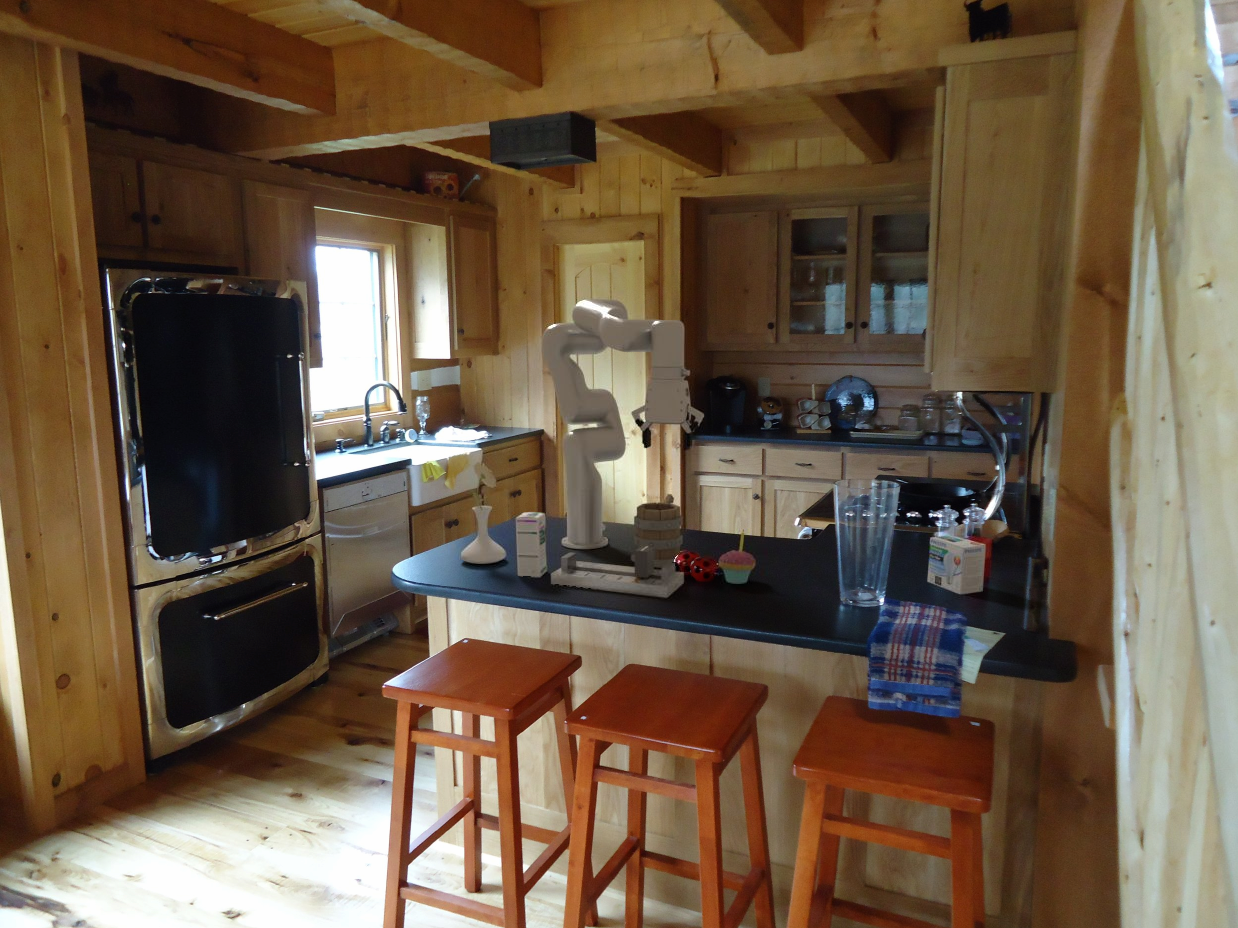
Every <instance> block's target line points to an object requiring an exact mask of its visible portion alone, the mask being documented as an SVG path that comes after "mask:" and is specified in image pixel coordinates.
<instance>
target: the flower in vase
mask: <svg viewBox="0 0 1238 928" xmlns="http://www.w3.org/2000/svg"><path fill="white" fill-rule="evenodd" d="M472 466H473V470H474V474H476V476H477V478H478V479H479V482H478V484H477V487H476V492H475V491H473V493H472V497H473V498H475V499H476V500H477V501H478V504H479V505H478V506H473V507H472V508H471V509H472V511H473V512H474V514H475V516H476V519H477V520H476V521H477V529H478V532H477V536H476V538H475V539H474V540H473V541H472V542H470V543H469V544H468V545H467V546H466V547H465V548H464V549H463V550H462V551H461V554H460V558H461V560H462V561H465V562H467V563H470V564H476V565H477V564H478V565H480V564H481V565H483V564H485V565H486V564H487V565H488V564H492V563H493V564H494V563H498V562H500V561H502V560H504V559H505V557H506V556H507V552H506V550H505V549H504V548H503V546H501V545H499V543H497V542H495V541H494V540H493V539H492V538H491V537H490V536H489V533H488V523H489V521H488V520H489V516H490V512H491V511H492V510H493V507H492V506H491V505H482V503H481V502H483V501H484V500H486V499H487V498H489V497H490V496H489V494H487V495H486V496H485V497H483V498H482V499H480V496H479V488H480V485H481V482H482V483H483V484H484V485H485V486H487V487H489V488H492V489H493V488H495V487H498V486H497V484H496V482H497V479H496V478H495V475H494V474H493V471H492V470H491V469H489V467H488V466H486V465H485V463H484V462H482V463H481V462H480V461H476V463H475V462H474V464H473V465H472Z"/></svg>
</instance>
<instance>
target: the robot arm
mask: <svg viewBox="0 0 1238 928" xmlns="http://www.w3.org/2000/svg"><path fill="white" fill-rule="evenodd" d="M571 314H572V315H571V316H572V317H571V318H572V321H573V322H562V323H561V322H559V323H554V324H552V325H550V326H548V327H547V328H546V329H545V330H544V332H543V334H542V339H541V352H542V356H543V361H544V363H545V365H546V367H547V370H548V372H549V374H550V376H551V379H552V382H553V386H554V392H555V396H556V400H557V405H558V409H559V413H560V416H561V419H562V421H563V422H564V423H565V424H566V425H571V426H572V425H573V426H578V425H579V426H581V425H593V424H595V425H596V426H592V427H590V426H589V427H579V428H574V429H571V430H569V431H568V432H567V433H566V434H565V435H564V436H563V439H562V443H561V444H562V453H563V457H564V462H565V463H564V465H565V472H566V474H565V475H566V526H567V527H566V528H567V529H566V536H565V537H563V538H562V539H561V545H562V546H563V547H566V548H568V549H576V550H592V549H593V550H594V549H599V548H603V547H605V546H607V545H609V539H608V538H607V537H605V536H603V531H605V529H606V524H605V523H603V478H602V476H601V473H600V472H599V471H598V469H597V467H596V466H595V464H596V463H597V464H598V463H604V462H614V461H618V460H620V459H621V458H623V456H624V454H625V453H626V448H627V443H626V437H625V432H624V429H623V424H622V423H623V422H622V420H621V416H620V411H619V407H618V403H617V401H616V398H615V397H614V395H613V393H612V392H611V391H609V390H608V389H606V388H589V387H588V386H587V384H586V383H587V382H586V379H585V374H584V372H583V370H582V369H581V367H580V366H579V364H578V363H577V362H576V361H575V360H574V359H573V358H572V357H571V355H572V356H573V355H576V356H577V355H579V356H580V355H581V356H582V355H583V356H584V355H598V354H600V353H603V352H604V351H606V349H608V348H610V349H614V350H616V351H619V352H624V353H625V352H626V353H638V352H639V353H640V352H641V353H644V352H645V353H651V355H650V357H651V358H650V362H651V363H650V366H651V367H650V370H651V372H650V378H651V379H650V380H648V383H647V386H646V394H645V402H644V404H643V405H642V406H640V407H638V408H636V409H634V410H632V411H631V416H632V418H633V420H634V422H635V424H636V425H637V427H638V428H640V431H641V435H642V436H641V439H642V440H641V441H642V442H641V444H642V445H643V448H644V449H648V448H650V447H651V446H652V430H651V429H650V428H651V427H652V425H653V424H657V425H658V424H659V425H660V424H661V425H680V426H681V427H682V428H683V430H684V431H685V432H684V433H683V438H682V441H683V443H682V445H683V446H682V449H683V450H684V451H688V450H690V449H691V448H692V446H693V432H695V430H696V429H697V428H698V427H699V426H700V425H701V422H702V421H703V418H704V417H705V414H704V413H703V412H701V411H699V410H698V409H696V408H695V407H693V406H691V396H690V389H689V387H690V386H689V381H688V380H685V378H686V377H689V376H690V375H691V370H690V369H686V367H685V325H684V323H683V322H682V321H681V320H677V319H676V320H675V319H672V320H671V319H668V320H665V319H664V320H662V319H648V318H647V319H645V318H644V319H641V318H640V319H638V318H637V319H635V318H634V319H633V318H632V319H631V318H630V319H629V315H628V310H627V308H626V306H625V305H624V304H623V302H621V301H620V300H618V299H609V298H608V299H606V298H605V299H604V298H588V299H583V300H580V301H579V302H577V303H576V304H575V306H574V307H573V309H572V313H571ZM642 413H644V419H645V421H644V420H643V419H642V418H641V414H642ZM692 416H694V417H695V419H694V421H693V422H692V423H690V421H691V419H692V418H691V417H692Z"/></svg>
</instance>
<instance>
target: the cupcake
mask: <svg viewBox="0 0 1238 928" xmlns="http://www.w3.org/2000/svg"><path fill="white" fill-rule="evenodd" d="M744 537H745V529H742V532H741V535H740V541H739V549H738V550H734V549H733V550H730V551H727V552H726V553H723V554H722V555H721V556H720V557H719V559H718V567H719V568H721V569H722V571H723V575H724V578H725V581H726V583H730V584H732V585H733V584H734V585H737V584H738V585H739V584H740V585H741V584H746V583H747V582H748V578H749V576H750V574H751V571H752V570H753V569H754V568H755V566H756V559H755V558H754V556H753V555H752V554H750V553H749V552H747V551H745V550H744V551H743V548H744V547H743V546H744V540H745V539H744Z"/></svg>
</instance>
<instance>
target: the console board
mask: <svg viewBox="0 0 1238 928" xmlns="http://www.w3.org/2000/svg"><path fill="white" fill-rule="evenodd" d="M684 578H685V573H684V571H683V572H682V571H681V572H680V571H676V566H675V563H667V564H666V565H665V566H664V567H662V568H661V569H657V568H656V569H655V568H654V573H653V574H652V575H650V576H649V577H648V578H644V577H635V566H629V565H628V566H627V565H625V566H624V565H616V564H606V563H598V562H590V561H578V560H577V552H568V553H567V554H565V555H562V556H561V557H560V568H558V569H556V570H555V571H553V572H551V573H550V584H551V585H555V584H559V585H558V586H563V585H567V586H566V587H572V586H576V587H575V588H580V587H583V589H588V588H591V590H597V589H598V590H600V591H606V592H616V593H622V594H623V593H624V594H633V595H641V596H649V597H657V598H658V597H659V598H665V599H666V598H668V597H670V596H671V595H672V594H673V593H674V592H675V591H677V590H678V589H679V588H680V587H681V586H682V585H683V584H684V582H685V579H684ZM568 585H569V586H568Z"/></svg>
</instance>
